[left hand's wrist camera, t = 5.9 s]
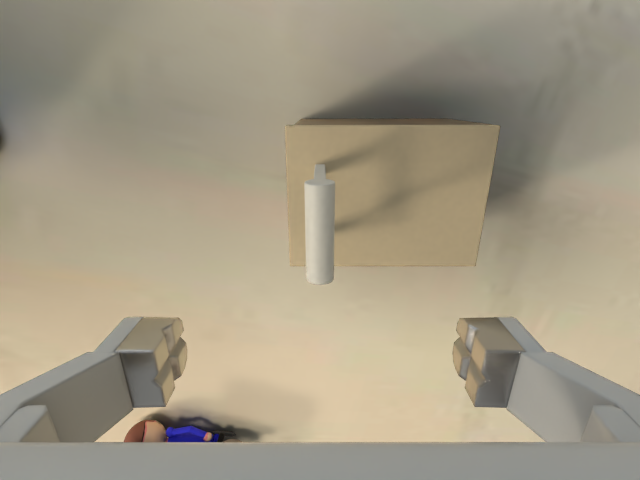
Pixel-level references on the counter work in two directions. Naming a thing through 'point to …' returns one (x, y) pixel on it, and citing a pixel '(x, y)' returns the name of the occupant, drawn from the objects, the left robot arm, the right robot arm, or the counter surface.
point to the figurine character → (173, 434)
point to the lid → (386, 195)
